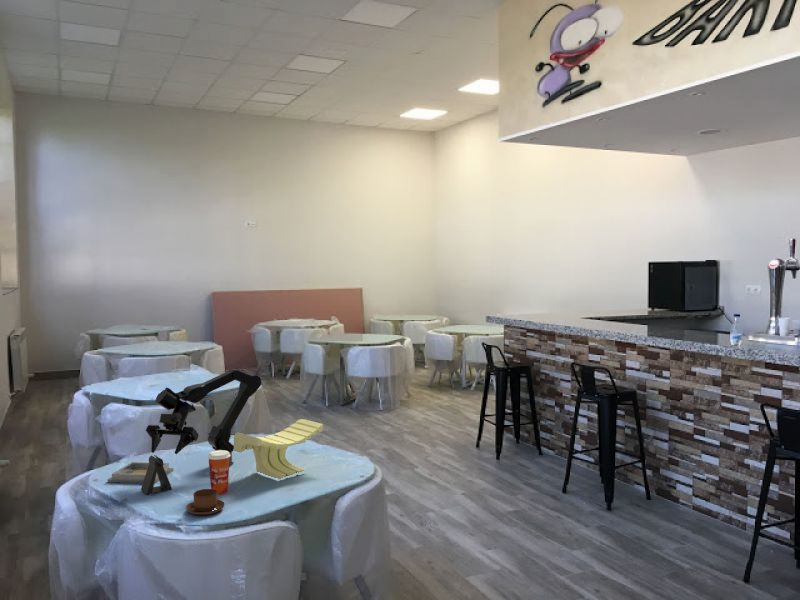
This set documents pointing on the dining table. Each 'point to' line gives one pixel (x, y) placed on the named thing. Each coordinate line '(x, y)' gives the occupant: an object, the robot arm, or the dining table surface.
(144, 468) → the square tray
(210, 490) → the cup and saucer
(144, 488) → the phone stand
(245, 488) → the dining table surface
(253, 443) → the slatted curved stool
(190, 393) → the robot arm
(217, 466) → the paper cup
